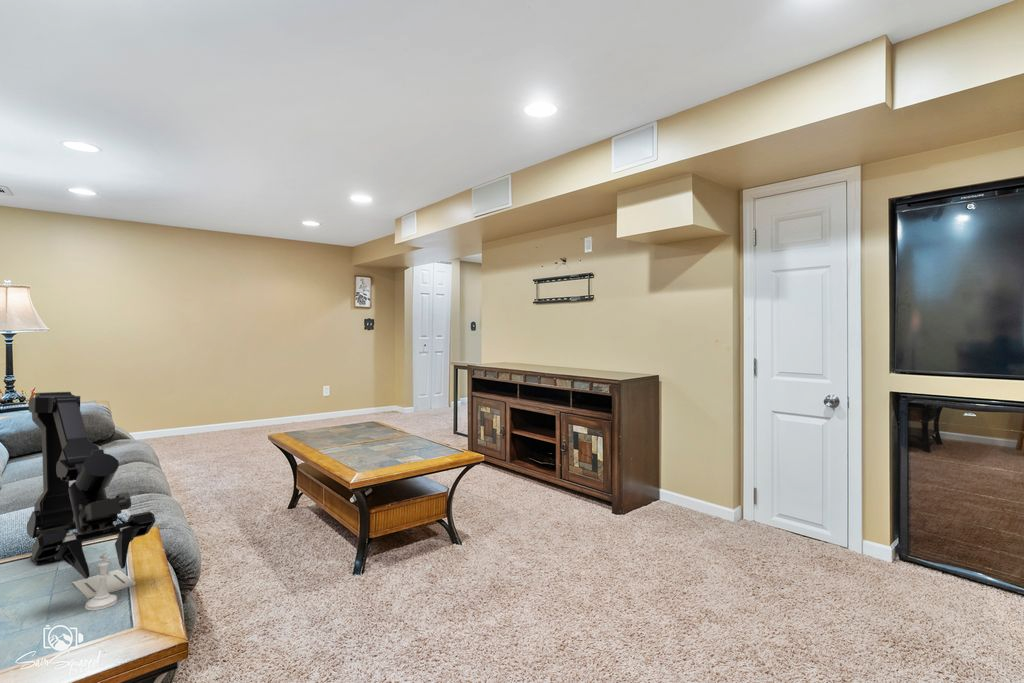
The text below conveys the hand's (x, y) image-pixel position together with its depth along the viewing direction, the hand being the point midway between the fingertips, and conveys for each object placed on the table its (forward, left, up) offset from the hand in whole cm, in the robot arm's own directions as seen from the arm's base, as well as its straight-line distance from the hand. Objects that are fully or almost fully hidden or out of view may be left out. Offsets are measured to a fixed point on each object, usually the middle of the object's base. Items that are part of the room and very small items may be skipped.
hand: (105, 572), depth 98 cm
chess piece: (-1, 0, -7) cm, 7 cm away
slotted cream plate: (-10, +3, -7) cm, 13 cm away
